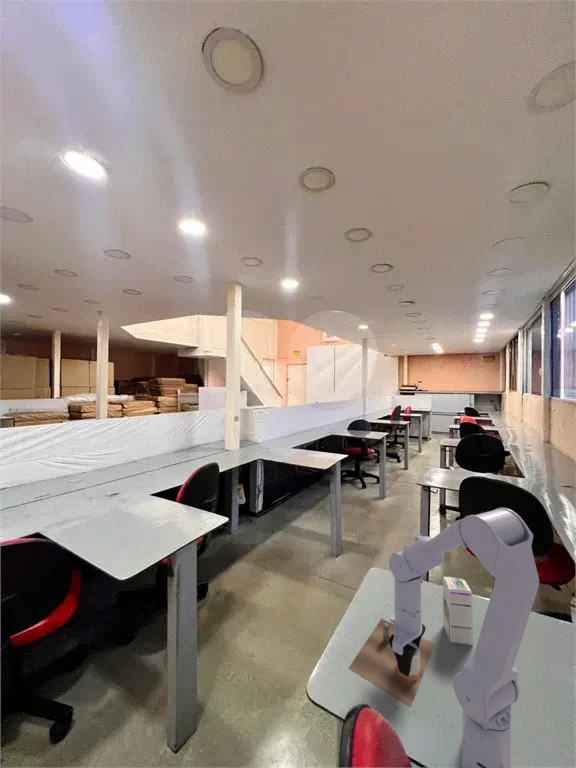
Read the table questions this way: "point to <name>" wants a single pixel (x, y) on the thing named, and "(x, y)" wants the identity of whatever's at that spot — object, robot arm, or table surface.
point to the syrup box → (458, 610)
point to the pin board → (388, 663)
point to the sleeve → (412, 666)
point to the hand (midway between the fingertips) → (407, 664)
